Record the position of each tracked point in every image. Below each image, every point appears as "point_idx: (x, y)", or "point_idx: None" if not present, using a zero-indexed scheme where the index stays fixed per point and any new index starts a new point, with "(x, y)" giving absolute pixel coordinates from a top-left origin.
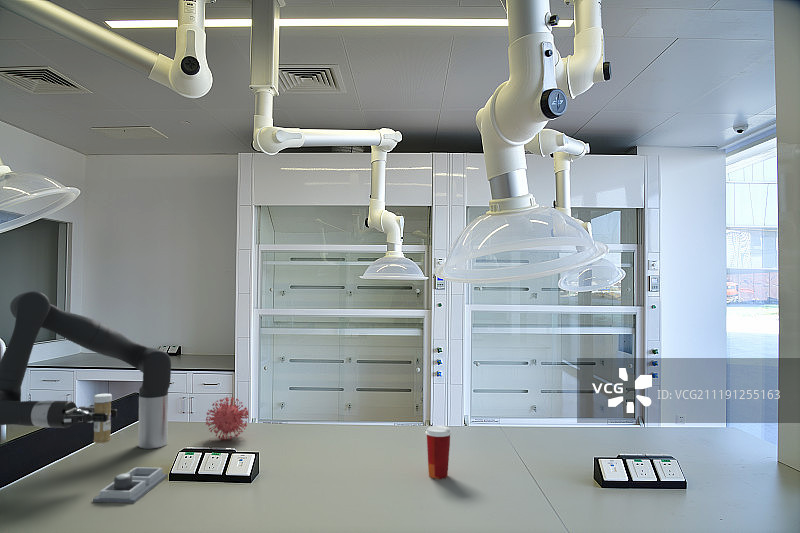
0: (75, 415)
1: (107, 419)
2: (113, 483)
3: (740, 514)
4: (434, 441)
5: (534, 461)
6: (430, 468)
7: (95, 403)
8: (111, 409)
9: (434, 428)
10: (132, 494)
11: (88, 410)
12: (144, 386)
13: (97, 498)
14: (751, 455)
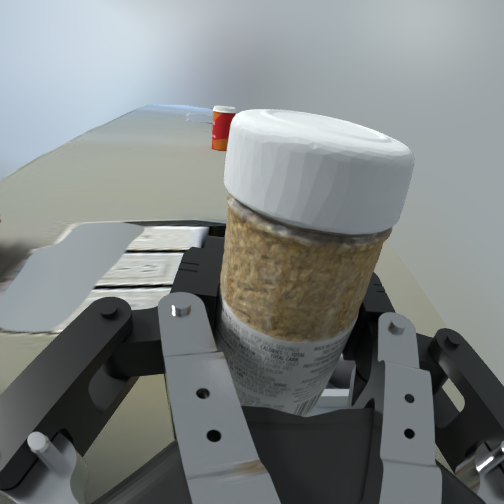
0: (500, 398)
1: None
2: (343, 390)
3: None
4: (233, 117)
5: (192, 128)
6: (226, 142)
7: (391, 230)
8: (212, 254)
9: (224, 107)
10: None
11: (270, 423)
12: None
13: None
14: (197, 108)
